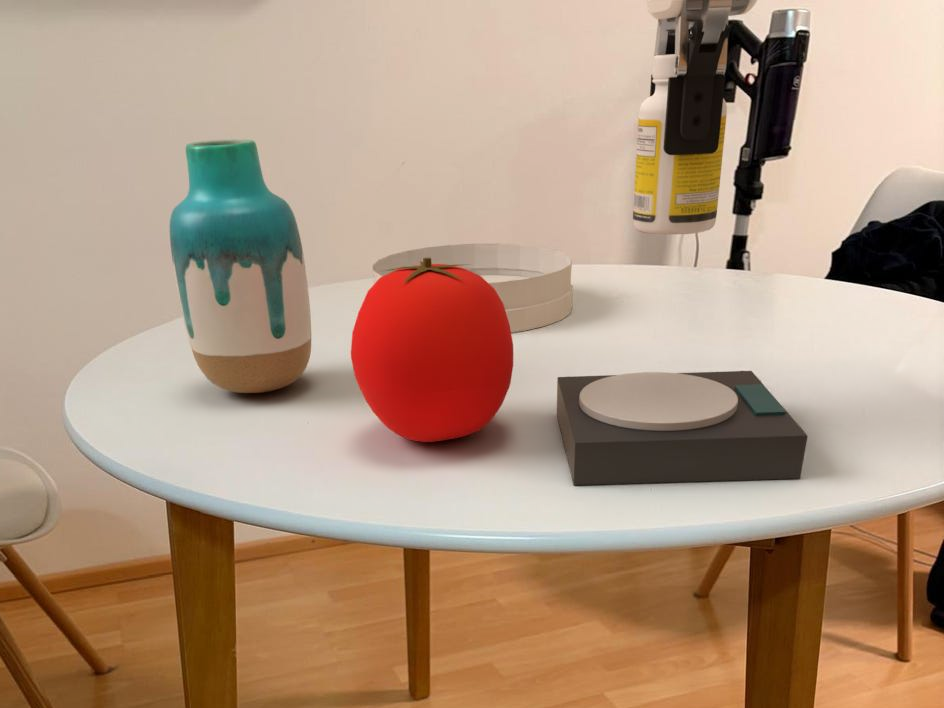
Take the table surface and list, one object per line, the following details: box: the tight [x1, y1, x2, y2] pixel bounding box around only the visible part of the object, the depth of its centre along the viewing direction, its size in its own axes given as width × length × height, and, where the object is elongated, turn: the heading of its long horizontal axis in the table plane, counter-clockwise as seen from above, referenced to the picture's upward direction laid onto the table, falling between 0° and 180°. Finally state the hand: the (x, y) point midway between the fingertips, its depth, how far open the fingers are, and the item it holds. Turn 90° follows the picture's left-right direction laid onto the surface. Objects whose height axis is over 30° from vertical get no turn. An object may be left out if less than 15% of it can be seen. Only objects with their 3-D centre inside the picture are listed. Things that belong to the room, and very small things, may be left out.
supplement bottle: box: [632, 54, 728, 235], centre depth 58 cm, size 5×5×10 cm
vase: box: [169, 139, 312, 394], centre depth 75 cm, size 11×11×19 cm
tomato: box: [350, 258, 514, 443], centre depth 66 cm, size 12×12×13 cm
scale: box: [556, 370, 809, 486], centre depth 65 cm, size 15×14×4 cm
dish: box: [372, 243, 574, 334], centre depth 100 cm, size 22×22×5 cm
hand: (680, 145), depth 58 cm, fingers closed on supplement bottle, 5 cm apart
